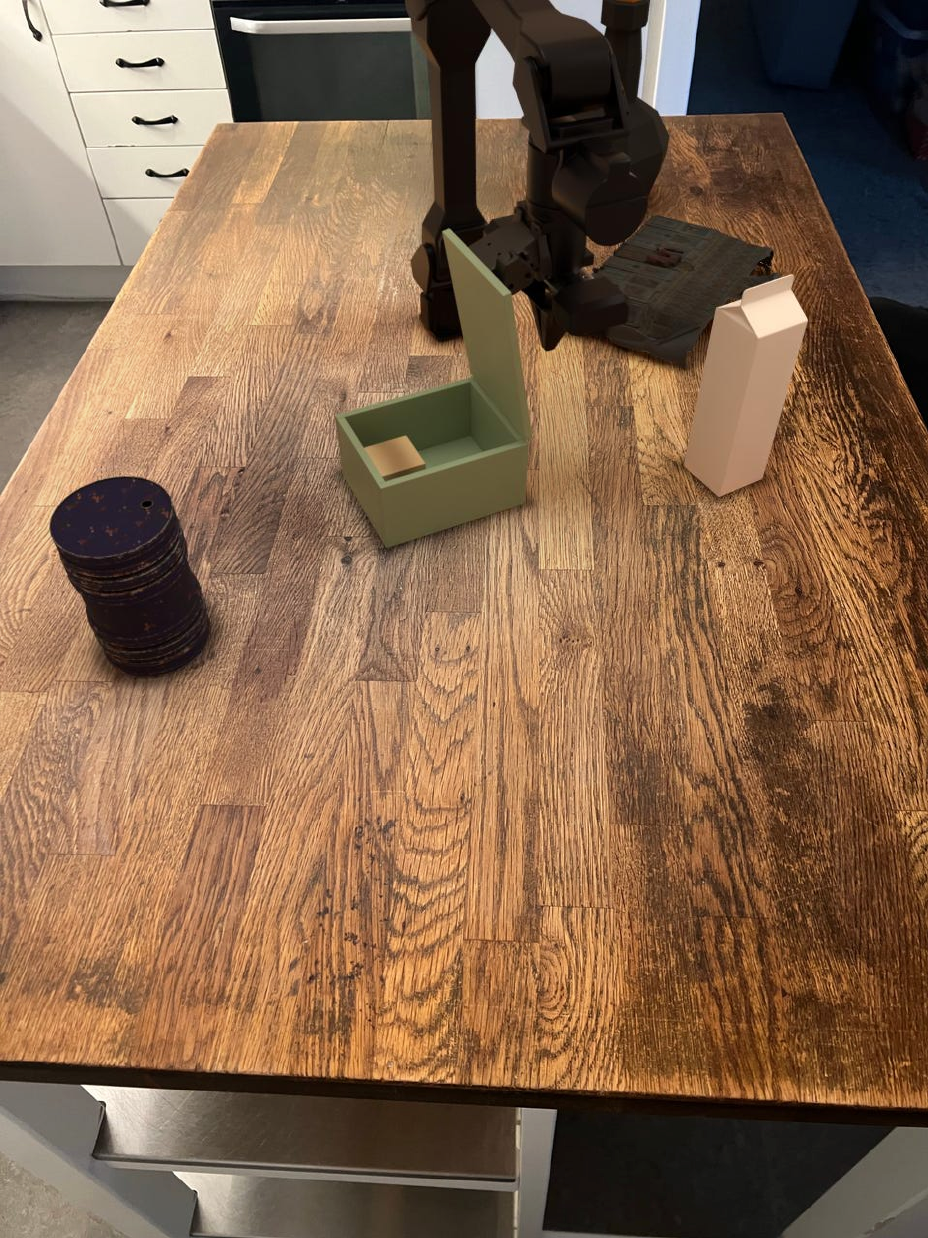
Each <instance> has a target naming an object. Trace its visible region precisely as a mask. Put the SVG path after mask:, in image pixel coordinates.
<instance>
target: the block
mask: <svg viewBox="0 0 928 1238" xmlns="http://www.w3.org/2000/svg"><path fill="white" fill-rule="evenodd" d="M364 449H365V450H366V452H367V454H368V455H369V457H370V458H371V460H372V461H373V463H374V465H375V466H376V468H377V469H378V471H379V473H380V474H381V476H382V477H383V479H384V480H385V481H389V480H392V479H395V478H399V477H402V476H405V475H409V474H412V473H415V472H418V471H422V470H425V469H426V463H425V462H424V460H423V459H422V458H421V456H420V455H419V453H418V452H417V450H416V449H415V447H414V446H413V445H412V443H411V442H410V440H409V439H408V437H407V436H402V437H399V438H395V439H392V440H389V441H385V442H382V443H378V444H375V445H372V446H368V447H365V448H364Z"/></svg>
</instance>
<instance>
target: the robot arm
mask: <svg viewBox="0 0 928 1238" xmlns="http://www.w3.org/2000/svg"><path fill="white" fill-rule="evenodd" d="M404 3H405V8H406V12H407V15H408V17H409V19H410V26H411V32H412V34H413V36H414V37H415V39H416V40H417V43H418V44H419V46H420V48H421V49H422V51H423V52H424V54H425V56H426V57H427V60H428V72H429V97H430V120H431V123H430V124H431V147H432V171H433V172H432V173H433V194H434V195H433V196H434V197H433V202H432V204H431V206H430V208H429V209H428V212H427V213H426V215H425V217H424V219H423V221H422V222H421V239H420V240H421V241H420V242H421V244H419V246H418V247H417V249H416V251H415V252H414V254H413V255H412V256H411V258H410V261H409V262H410V268H411V274H412V278H413V280H414V281H415V283H416V284H417V285H418V287H419V288H420V289H421V290H422V291H420V293H419V304H420V314H419V320H420V322H421V323H422V325H423V326H424V327H425V328H426V329H427V331H428V332H430V334H431V335H432V336H433V337H434V338H435V340H436V341H437V342H446V341H450V340H453V339H454V340H455V339H456V338H461V337H463V333H462V328H461V323H460V318H459V313H458V308H457V303H456V298H455V293H454V288H453V283H452V278H451V273H450V268H449V263H448V258H447V253H446V248H445V243H444V238H443V233H442V231H444V230H447V229H451V230H452V231H453V233H454V234H455V235H456V236H457V237H458V238H459V239H460V240H461V241H462V242H463V243H464V244H465V245H466V246H467V247H468V248H469V249H470V250H471V251H472V252H473V253H474V254H475V255H476V256H477V257H478V259H479V260H480V261H481V262H482V263H483V264H484V265H485V266H486V267H487V268H488V269H489V270H490V271H491V272H492V273H493V274H494V275H495V276H496V277H497V278H498V279H499V280H500V281H501V282H502V283H503V285H504V286H505V287H506V288H507V289H508V290H509V291H510V292H511V294H512V296H514V295H516V294H518V293H519V292H522V293H523V294H525V295H526V296H527V298H528V301H529V305H530V307H531V311H532V315H533V319H534V323H535V326H536V331H537V334H538V338H539V342H540V346H541V348H542V349H543V350H544V351H545V352H546V353H548V352H551V351H554V350H555V349H556V348H557V347H558V345H559V343H560V342H561V340H562V339H563V337H564V336H565V334H566V333H567V334H568V335H569V336H574V337H581V336H585V335H587V334H589V333H592V332H596V331H600V330H603V329H607V328H610V327H614V326H618V325H621V324H625V323H627V322H628V320H629V316H630V309H631V301H632V300H631V299H630V298H629V297H628V296H627V295H626V294H625V293H624V292H622V291H621V290H620V289H619V288H618V287H617V286H616V285H615V284H613V283H612V282H611V281H610V280H609V279H608V278H607V277H606V276H602V277H598V278H594V277H593V276H592V275H591V274H592V273H590V272H589V271H588V270H586V269H585V268H588V267H592V266H594V265H595V254H594V252H592V251H591V250H590V249H589V248H588V247H587V242H588V241H587V239H589V240H590V241H592V243H594V244H595V245H597V246H601V247H613V246H614V247H615V246H617V245H620V244H622V243H623V242H624V241H625V242H626V241H627V240H628V239H629V238H630V237H631V236H633V235H634V234H635V233H636V232H637V231H638V230H639V229H640V226H642V223H643V221H644V219H645V217H646V214H647V211H648V207H649V197H648V198H647V194H646V189H645V187H644V185H643V183H642V182H641V181H640V180H639V179H638V178H637V177H636V176H635V175H633V174H632V173H631V172H630V167H631V159H630V158H629V157H628V156H627V155H626V154H624V153H623V152H619V151H617V150H616V149H615V148H613V147H612V145H613V140H618V139H623V138H628V137H629V135H630V130H629V125H628V119H627V116H628V114H629V113H630V110H629V106H628V103H627V99H626V96H625V92H624V89H623V85H622V82H621V78H620V75H619V71H618V66H617V61H616V57H615V54H614V52H613V50H612V48H611V46H610V44H609V42H608V40H607V39H606V37H605V36H604V34H603V32H601V31H600V30H599V29H597V28H596V27H595V26H593V25H592V24H591V23H590V22H588V21H587V20H585V19H583V18H579V17H575V16H572V15H569V14H565V13H562V12H561V11H560V10H559V9H557V8H556V7H555V5H554V4H553V3H552V2H551V1H550V0H404ZM492 31H493V32H494V34H495V35H496V36H497V38H498V40H499V41H500V42H501V43H502V45H503V46H504V48H505V49H506V51H507V52H508V54H509V55H510V57H511V59H512V61H513V63H514V66H513V75H512V87H513V89H514V91H515V93H516V96H517V100H518V103H519V105H520V108H521V111H522V113H523V115H522V116H521V118H520V124H521V125H522V126H523V127H524V128H525V129H526V130H527V131H528V136H527V137H528V139H527V140H528V141H527V159H526V160H527V161H526V184H525V185H526V186H525V187H526V188H525V199H523V200H522V199H521V200H517V201H516V206H514V208H513V214H509V215H504V216H501V217H495V218H492V219H491V220H489V222H488V221H487V220H486V218H485V217H484V215H483V213H482V212H481V210H480V209H479V207H478V204H477V203H478V201H477V111H476V107H477V106H476V103H477V102H476V99H477V98H476V97H477V95H476V65H477V62H478V60H479V58H480V56H481V54H482V53H483V50H484V48H485V46H486V44H487V42H488V41H489V38H490V37H491V34H492ZM601 108H603V109H604V112H605V115H604V116H599V117H593V118H587V119H582V120H575V119H574V118H573V117H571V115H576V114H582V113H588V112H593V111H598V110H600V109H601Z"/></svg>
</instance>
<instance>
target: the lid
mask: <svg viewBox="0 0 928 1238" xmlns="http://www.w3.org/2000/svg"><path fill="white" fill-rule="evenodd" d="M442 233H443V238H444V243H445V248H446V253H447V258H448V263H449V268H450V273H451V278H452V283H453V288H454V293H455V298H456V303H457V308H458V313H459V318H460V323H461V328H462V333H463V336H462V337H463V342H464V347H465V352H466V357H467V363H468V368H469V372H470V375H471V377H474V378H475V379H476V381H477V382H478V383H479V384H480V386H481V387H482V388H483V389H484V390H485V392H486V393H487V394H488V395H489V397H490V398H491V399H492V400H493V401H494V403H495V404H496V405H497V406H498V408H499V409H500V410H501V411H502V412H503V414H504V415H505V416H506V417H507V419H508V420H509V421H510V422H511V423H512V425H513V426H514V427H515V428H516V430H517V431H518V432H519V433H520V434H521V436H522V437H523V438H524V439H525V441H527V442H528V441H529V440H531V439H533V431H532V424H531V417H530V411H529V404H528V403H529V402H528V398H527V390H526V384H525V377H524V369H523V363H522V357H521V350H520V342H519V336H518V330H517V323H516V315H515V309H514V303H513V301H514V300H513V295H512V294H511V292H510V291H509V290H508V289H507V288H506V287H505V286H504V285H503V283H502V282H501V281H500V280H499V279H498V278H497V277H496V276H495V275H494V274H493V273H492V272H491V271H490V270H489V269H488V268H487V267H486V266H485V265H484V264H483V263H482V262H481V261H480V260H479V259H478V257H477V256H476V255H475V254H474V253H473V252H472V251H471V250H470V249H469V248H468V247H467V246H466V245H465V244H464V243H463V242H462V241H461V240H460V239H459V238H458V237H457V236H456V235H455V234H454V233H453V231H452V230H451V229H447V230H444V231H442Z"/></svg>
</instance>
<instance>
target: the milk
mask: <svg viewBox="0 0 928 1238" xmlns="http://www.w3.org/2000/svg"><path fill="white" fill-rule="evenodd" d="M794 279H795V275H794V274H792V273H790V274H788V275H784V276H781V278H779V279H776V280H773V281H770V282H767V283H764V284H761V285H758V286H755V287H752V288H749V289H746V290H745V291H744V293H743V295H742V299H741V300H735V301H733V302H730V303H727V304H726V303H725V304H724V305H723V306H721V307H718V308H716V311H715V316H714V317H713V322H712V326H711V331H710V335H709V341H708V345H707V350H706V355H705V358H704V365H703V369H702V374H701V378H700V379H701V380H700V384H699V389H698V394H697V399H696V404H695V409H694V413H693V418H692V423H691V428H690V433H689V437H688V442H687V447H686V453H685V456H684V460H683V467H684V468H685V469H686V470H687V471H689V472H690V473H691V474H692V475H693V476H694V477H695V478H696V479H698V481H699V482H701V483H702V484H703V485H704V486H705V487H706V488H708V490H710V491H711V492H712V493H713V494H714V495H715V496H716V497H718V498H720V497H722V496H725V495H728V494H730V493H732V492H735V491H738V490H739V489H742V488H744V487H746V486H749V485H752V484H754V483H756V482H758V481H761V480H762V479H764V475H765V471H766V468H767V464H768V460H769V457H770V453H771V450H772V447H773V444H774V441H775V436H776V434H777V429H778V425H779V422H780V419H781V415H782V413H783V409H784V405H785V402H786V399H787V394H788V392H789V388H790V384H791V381H792V377H793V374H794V371H795V367H796V363H797V360H798V356H799V354H800V350H801V346H802V342H803V339H804V336H805V332H806V329H807V325H808V322H809V319H808V317H807V316H806V313H805V312H804V310H803V308H802V307H801V304H800V303H799V300H798V299H797V296H795V294H794V292H793V290H792V287H793V283H794Z"/></svg>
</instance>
